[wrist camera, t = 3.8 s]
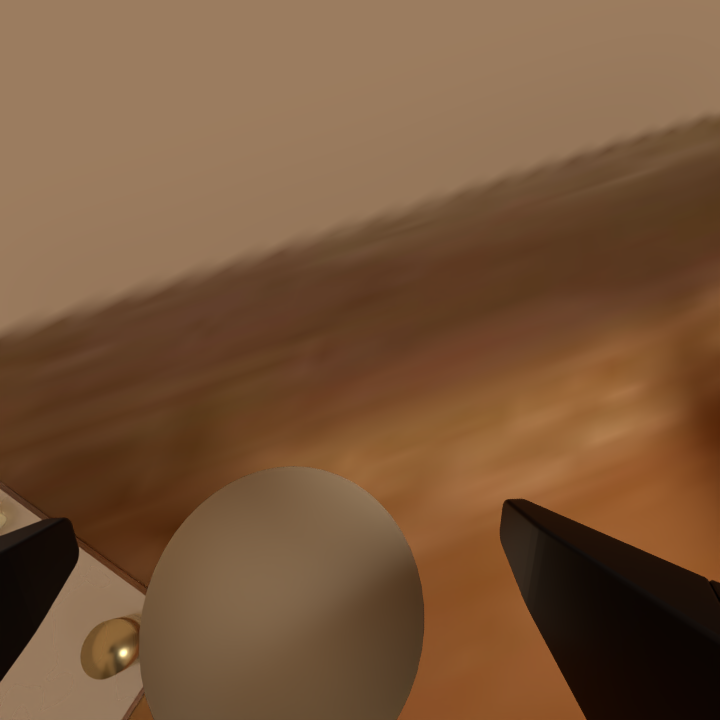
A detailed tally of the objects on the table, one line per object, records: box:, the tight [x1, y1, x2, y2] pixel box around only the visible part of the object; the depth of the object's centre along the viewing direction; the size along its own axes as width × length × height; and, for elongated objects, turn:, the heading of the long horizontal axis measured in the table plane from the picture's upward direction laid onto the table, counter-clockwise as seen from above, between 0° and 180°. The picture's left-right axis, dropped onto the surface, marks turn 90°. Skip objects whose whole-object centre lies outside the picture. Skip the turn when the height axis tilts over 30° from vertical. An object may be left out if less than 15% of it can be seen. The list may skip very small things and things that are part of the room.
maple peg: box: [139, 466, 424, 720], centre depth 12 cm, size 5×5×10 cm
